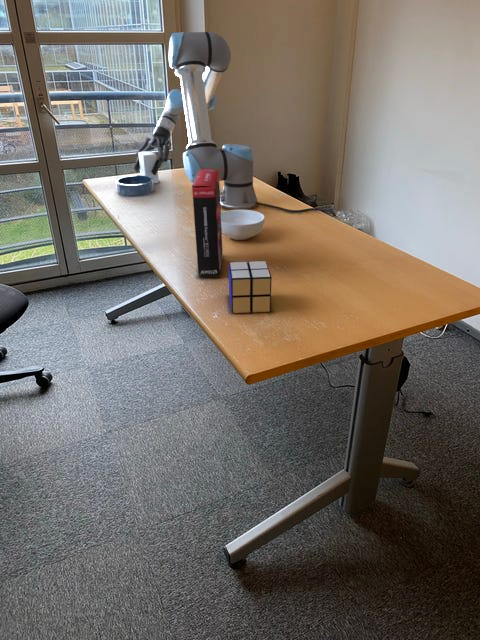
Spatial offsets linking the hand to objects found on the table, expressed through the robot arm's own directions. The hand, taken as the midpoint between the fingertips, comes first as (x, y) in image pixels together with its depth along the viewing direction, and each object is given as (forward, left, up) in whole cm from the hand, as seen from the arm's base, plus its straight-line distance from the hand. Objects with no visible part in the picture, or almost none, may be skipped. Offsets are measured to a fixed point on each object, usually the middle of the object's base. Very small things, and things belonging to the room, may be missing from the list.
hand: (144, 172), depth 230 cm
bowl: (-2, +13, -5) cm, 14 cm away
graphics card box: (-61, +78, -5) cm, 99 cm away
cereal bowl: (-62, +51, -5) cm, 80 cm away
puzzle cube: (-79, +97, -5) cm, 125 cm away
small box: (-1, -3, -5) cm, 6 cm away
